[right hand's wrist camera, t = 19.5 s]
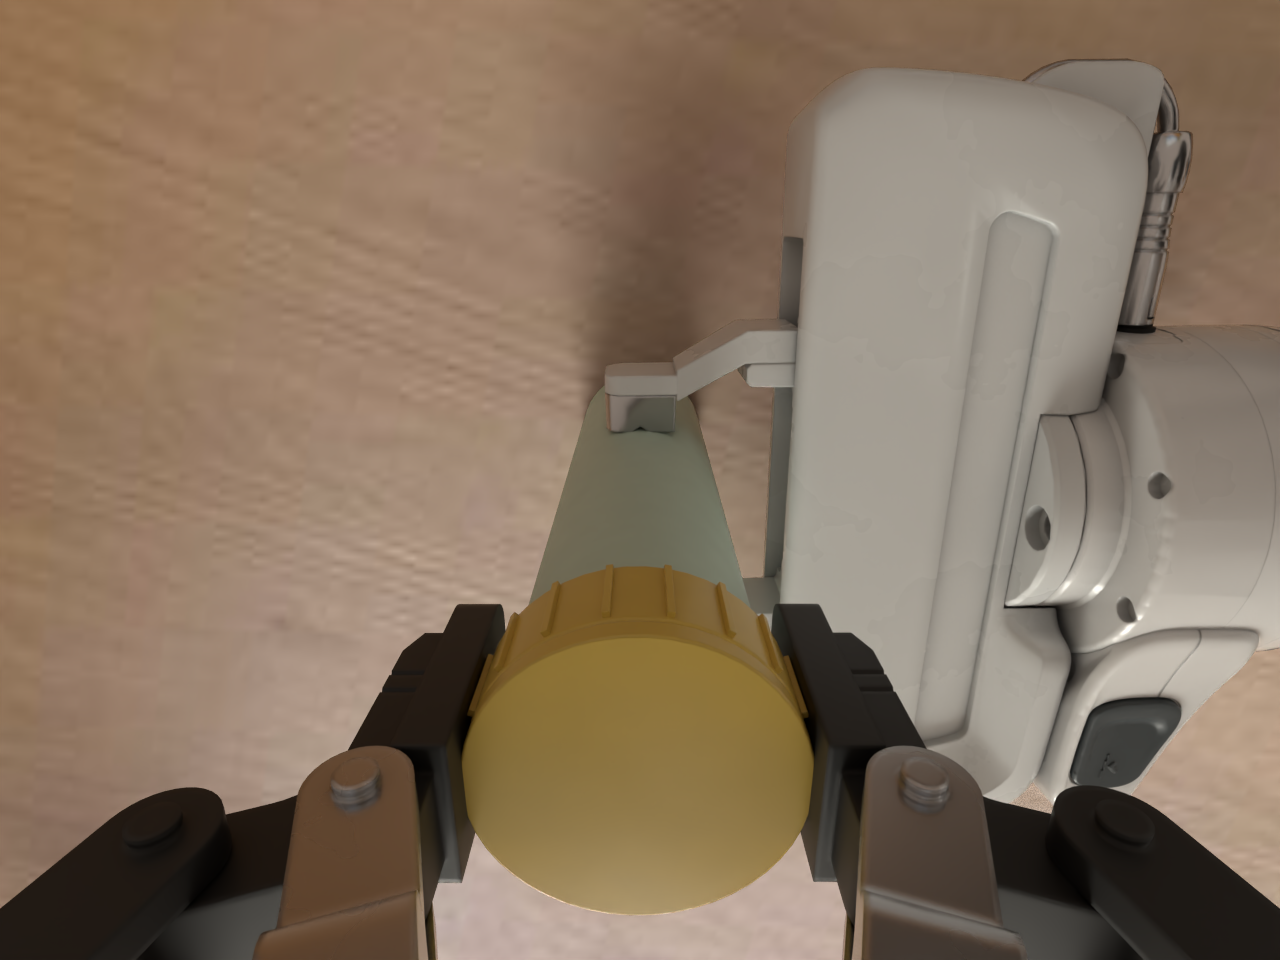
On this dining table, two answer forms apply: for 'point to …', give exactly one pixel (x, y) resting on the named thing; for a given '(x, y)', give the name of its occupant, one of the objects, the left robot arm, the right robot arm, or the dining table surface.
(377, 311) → the dining table surface
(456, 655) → the right robot arm
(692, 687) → the lid
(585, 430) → the jar
